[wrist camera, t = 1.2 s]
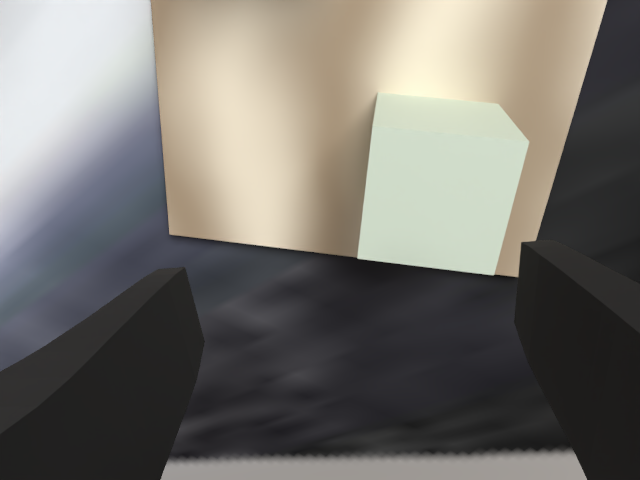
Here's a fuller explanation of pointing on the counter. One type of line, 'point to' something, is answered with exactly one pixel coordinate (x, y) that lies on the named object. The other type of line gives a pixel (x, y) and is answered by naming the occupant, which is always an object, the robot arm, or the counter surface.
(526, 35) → the build board
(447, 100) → the sage block
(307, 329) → the counter surface
